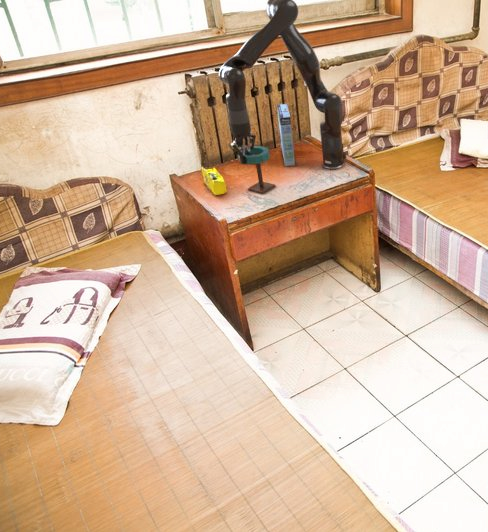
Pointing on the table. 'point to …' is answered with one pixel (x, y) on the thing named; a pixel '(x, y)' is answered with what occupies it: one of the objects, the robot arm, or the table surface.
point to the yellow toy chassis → (214, 181)
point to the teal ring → (260, 158)
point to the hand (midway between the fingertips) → (246, 162)
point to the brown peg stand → (261, 183)
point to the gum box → (286, 134)
